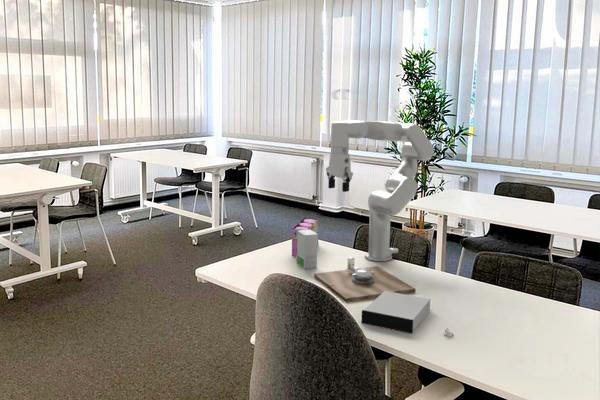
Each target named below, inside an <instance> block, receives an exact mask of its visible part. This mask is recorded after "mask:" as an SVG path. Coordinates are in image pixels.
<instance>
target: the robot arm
mask: <svg viewBox="0 0 600 400" xmlns="http://www.w3.org/2000/svg"><path fill="white" fill-rule="evenodd" d="M330 127H331V129H330V131H331V132H330V133H331V134H330V153H329V154H330V155H329V162H328V166H327V167H326V168H325V171H326V176H327V179H328V189H334V188H336V178H341V179H342V181H343V182H342V188H341V189H342V192H343V193H346V192H349V191H350V182H351V180H352V179H353V175H354V173H353V172H352V170H351V166H352V165H351V156H350V153H349V145H350V144H349V141H350V139H368V140H373V141H380V142H381V141H383V142H384V141H385V142H402V143H403V142H404V143H403V144H402V146H401V162H400V164H399V166H398V167H397V168H396V169H395V171H394V172H393V173H392V174H391V175H390V176H388V179H386V181H385V184H384V189H385V190H386V191H385V190H381V189H380V190H373V191H372V192H371V193H370V194H369V196H368V199H367V205H368V214H369V223H368V224H369V226H368V252H366V253H365V254H364V258H365V259H367V260H369V261H373V262H388V261H390V260H392V259H393V255H392V254H396V253H399V248H393V247H390V238H391V237H390V236H391V235H390V234H391V216H396V215H398V214H399V213H400V212H401V211H403V209H405V207H406V206H407V205H408V204H409V203H410V202H411V200H412V199H413V198H414V197H415V195H416V194H417V192H418V191H417V190H418V183H417V181H416V179H414V177H415V176H416V175H417V172H418V161H422V162H426V161H429V160H430V159H432V158H433V155H434V151H435V150H434V147H433V144H432V143H431V141H430V139H429V138H428V137H427V135H426V134H425V132H424V131H423V130H422V129H421V127H420V126H418V125H417V124H415V123H407V122H396V121H386V120H385V121H384V120H383V121H382V120H380V121H379V120H356V119H355V120H354V119H346V120H343V121H342V120H341V121H340V120H337V121H333V122H332V123H331V126H330Z"/></svg>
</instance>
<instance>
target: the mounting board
mask: <svg viewBox="0 0 600 400" xmlns="http://www.w3.org/2000/svg"><path fill="white" fill-rule="evenodd" d="M365 268H367V269H370V270H372V271H373V272H374V275H372V279H371V280H368V281H360V280H356V279H355V278H354V277H352V274H354V272H353V271H351V270H348V269H344V270H334V271H326V272H317V273H314V274H313V277H314V279H316V281H318V282H319V283H320V284H322V285H324V286H325V288H327V289H328V290H329V291H331V292H332V293H333V294H334V295H336V297H338V298H340V300H341V301H343V302H345V303H350V302H358V301H363V300H373V299H376V298H377V297H378V296H380V295H381V294H382V293H383V292H384V291H388V292H394V293H400V294H405V295H409V294H414V293H416V288H415V287H413V286H412V285H410V284H408V283H407V282H404V281H403V280H401V279H399V278H398V277H396V276H395V275H393V274H391V273H390V272H388V271H386V270H385V269H383V268H382V267H380V266H379V265H377V266H376V265H375V266H367V267H365Z"/></svg>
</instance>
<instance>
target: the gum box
mask: <svg viewBox="0 0 600 400" xmlns="http://www.w3.org/2000/svg"><path fill="white" fill-rule="evenodd" d="M309 229H310V230H312V231H314V232H315V233H317V234H318V235H319V218H316V219H309V218H307V217H305V218H302V219H301V220H300V221H299V222H298V223H297V224H296V225H294V226H293V227H292V228H291V257H293V256H295V258H297V240H298V231H300V230H309Z"/></svg>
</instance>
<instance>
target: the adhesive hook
mask: <svg viewBox="0 0 600 400" xmlns="http://www.w3.org/2000/svg"><path fill="white" fill-rule="evenodd" d="M450 328H451V327H449V325H448V326H446V327H445V329H444V333H443V336H448V337H452V336H454V333H453V332H451V329H450Z"/></svg>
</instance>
